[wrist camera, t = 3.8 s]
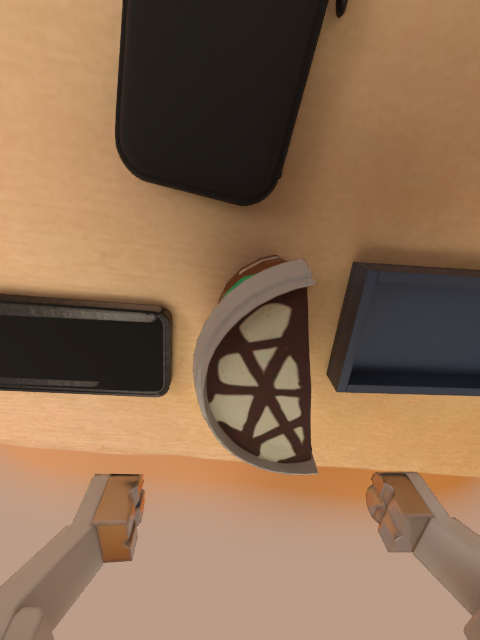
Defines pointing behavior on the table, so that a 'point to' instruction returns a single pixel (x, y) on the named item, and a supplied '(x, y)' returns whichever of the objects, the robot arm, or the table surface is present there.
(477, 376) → the tray
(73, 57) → the table surface
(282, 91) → the carrying case
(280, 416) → the food container
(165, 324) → the phone
